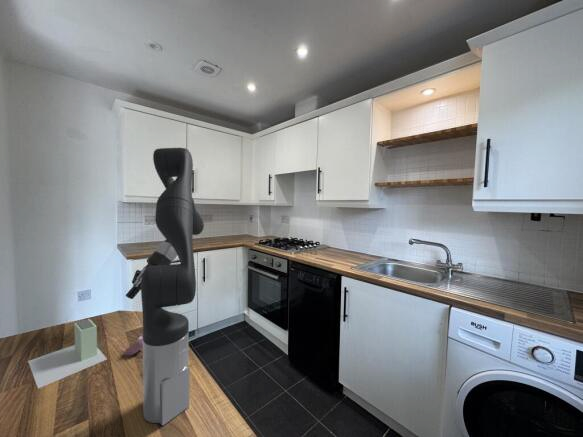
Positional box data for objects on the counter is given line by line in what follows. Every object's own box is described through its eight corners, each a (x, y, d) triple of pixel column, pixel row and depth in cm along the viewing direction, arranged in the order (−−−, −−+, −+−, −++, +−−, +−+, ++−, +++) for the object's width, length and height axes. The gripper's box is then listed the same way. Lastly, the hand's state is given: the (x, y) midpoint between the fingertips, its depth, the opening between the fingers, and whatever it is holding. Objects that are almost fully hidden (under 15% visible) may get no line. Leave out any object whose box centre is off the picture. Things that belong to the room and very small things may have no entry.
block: (97, 354, 71) (96, 325, 70) (81, 361, 68) (80, 330, 67) (90, 346, 75) (89, 318, 74) (75, 351, 72) (74, 322, 71)
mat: (107, 360, 69) (107, 359, 69) (37, 389, 58) (37, 388, 58) (90, 340, 78) (90, 339, 78) (27, 362, 67) (27, 361, 67)
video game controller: (135, 362, 71) (145, 343, 70) (121, 355, 71) (132, 335, 70) (154, 343, 81) (163, 325, 80) (143, 336, 80) (152, 319, 80)
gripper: (147, 248, 91) (110, 288, 81) (167, 253, 84) (129, 297, 74) (160, 259, 96) (127, 298, 86) (180, 264, 89) (147, 307, 79)
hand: (128, 297), depth 80 cm, fingers closed
